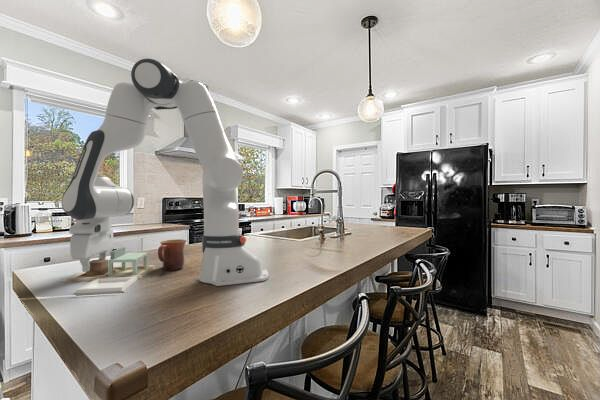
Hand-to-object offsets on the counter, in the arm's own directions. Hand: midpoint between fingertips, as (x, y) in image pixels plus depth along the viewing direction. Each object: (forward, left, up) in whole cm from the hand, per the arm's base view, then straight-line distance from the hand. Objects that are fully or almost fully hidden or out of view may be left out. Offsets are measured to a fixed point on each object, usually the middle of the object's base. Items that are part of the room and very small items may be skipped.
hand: (94, 267), depth 92 cm
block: (-1, -1, -3) cm, 3 cm away
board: (-5, -1, -3) cm, 6 cm away
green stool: (-10, -1, -2) cm, 10 cm away
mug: (-22, -6, -3) cm, 23 cm away
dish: (-10, +13, -3) cm, 17 cm away
